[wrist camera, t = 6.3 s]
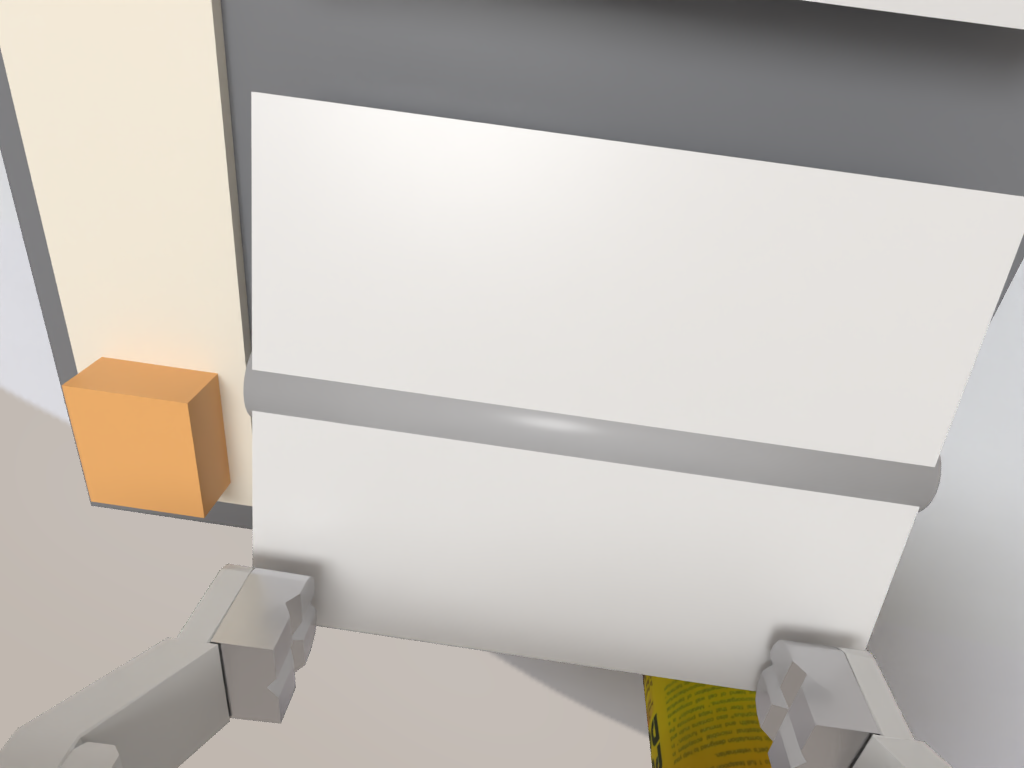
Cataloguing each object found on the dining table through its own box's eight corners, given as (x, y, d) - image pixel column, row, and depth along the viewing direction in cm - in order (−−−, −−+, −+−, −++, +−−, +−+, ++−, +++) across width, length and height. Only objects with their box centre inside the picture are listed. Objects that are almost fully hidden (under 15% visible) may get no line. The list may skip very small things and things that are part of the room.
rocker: (986, 194, 10) (1048, 200, 9) (822, 654, 13) (852, 709, 12) (281, 98, 10) (241, 90, 9) (275, 573, 13) (245, 619, 12)
